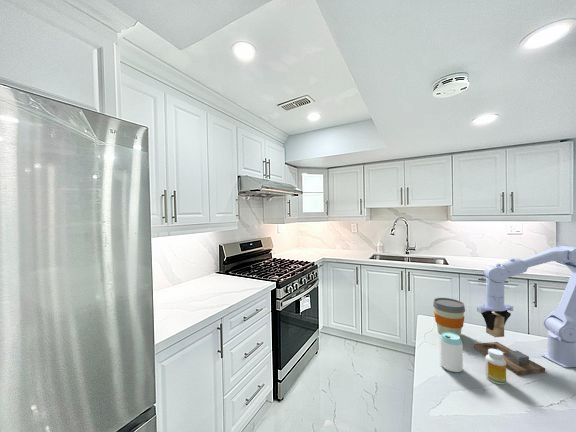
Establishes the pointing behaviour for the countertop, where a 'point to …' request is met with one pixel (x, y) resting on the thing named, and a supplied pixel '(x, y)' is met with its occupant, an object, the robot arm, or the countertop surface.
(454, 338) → the can
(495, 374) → the supplement bottle
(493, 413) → the countertop surface
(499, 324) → the oak peg
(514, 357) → the gray cube
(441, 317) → the reusable coffee cup
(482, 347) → the brown wooden frame
